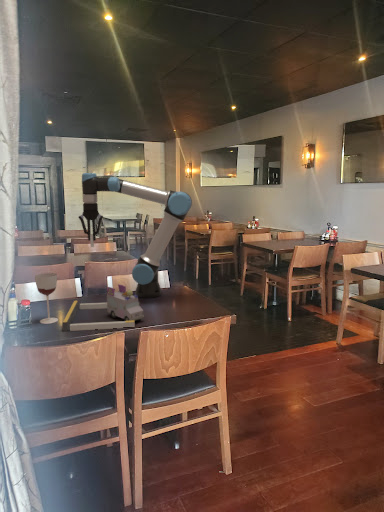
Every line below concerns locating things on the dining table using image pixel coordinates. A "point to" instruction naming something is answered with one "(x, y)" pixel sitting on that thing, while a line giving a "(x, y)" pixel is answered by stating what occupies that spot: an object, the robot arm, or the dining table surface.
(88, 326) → the dock
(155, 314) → the dining table surface
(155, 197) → the robot arm
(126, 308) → the toy vehicle
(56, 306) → the dining table surface
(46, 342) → the dining table surface
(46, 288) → the wineglass
